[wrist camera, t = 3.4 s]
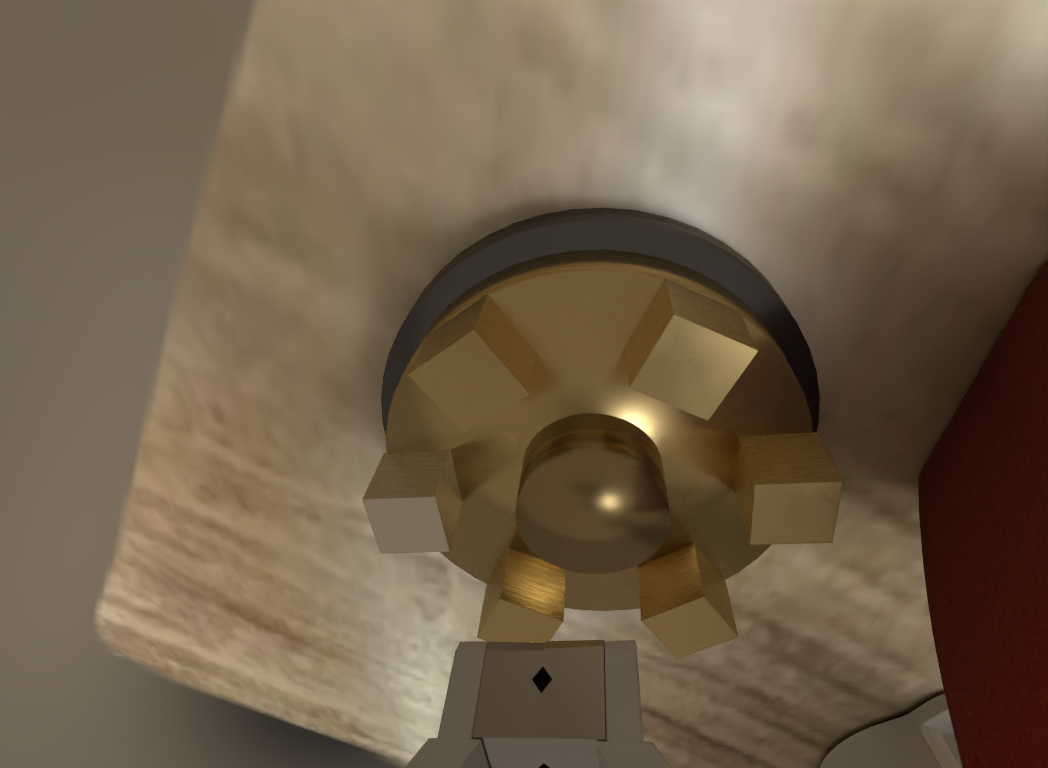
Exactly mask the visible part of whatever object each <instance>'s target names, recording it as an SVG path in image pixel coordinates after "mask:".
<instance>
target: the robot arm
mask: <svg viewBox="0 0 1048 768" xmlns="http://www.w3.org/2000/svg"><path fill="white" fill-rule="evenodd" d="M405 768H670V767H669V765H668V764H667V762H666V761H665V759H664V758H663V756H662V755H661V753H660V752H659V750H658V749H657V747H656V746H655V745H654V743H653V742H643V728H642V715H641V701H640V688H639V674H638V661H637V647H636V642H635V640H631V641H605V642H604V640H586V641H546V642H460V643H459V645H458V647H457V649H456V652H455V656H454V661H453V666H452V671H451V675H450V680H449V685H448V690H447V695H446V700H445V705H444V709H443V714H442V719H441V724H440V729H439V734H438V738H429V739H428V740H427V741H426V743H425V744H424V745H423V746H422V747H421V749H420V750H419V751H418V752H417V753H416V755H415V756H414V757H413V758H412V759H411V761H410V762H409V763H408V764H407V765H406V767H405ZM820 768H963V767H962V763H961V759H960V755H959V751H958V747H957V743H956V739H955V735H954V731H953V727H952V723H951V718H950V714H949V710H948V706H947V701H946V697H945V694H942V695H939V696H937V697H935V698H933V699H931V700H929V701H928V702H926V703H924V704H923V705H921V706H920V707H918V708H917V709H915V710H914V711H912V712H911V713H909V714H907V715H904V716H902V717H899V718H896V719H893V720H890V721H887V722H884V723H881V724H878V725H875V726H872V727H869V728H867V729H865V730H862V731H860V732H858V733H856V734H854V735H852V736H850V737H849V738H847V739H846V740H844V741H842V742H841V743H840V744H838V745H837V746H836V747H835V748H834V749H832V750H831V751H830V752H829V754H828V755H827V756H826V757H825V759H824V760H823V762H822V764H821V766H820Z"/></svg>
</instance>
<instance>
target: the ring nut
mask: <svg viewBox="0 0 1048 768" xmlns="http://www.w3.org/2000/svg"><path fill="white" fill-rule="evenodd" d="M386 446H387V453H384V454H383V456H382V458H381V460H380V463H379V465H378V467H377V469H376V471H375V473H374V475H373V477H372V480H371V482H370V484H369V486H368V488H367V490H366V492H365V495H364V497H363V499H362V500H363V503H364V506H365V509H366V512H367V515H368V518H369V520H370V523H371V526H372V529H373V532H374V535H375V538H376V541H377V543H378V546H379V549H380V552H381V553H411V552H441V553H442V554H443V555H444V556H445V557H447V558H448V559H449V560H450V561H451V562H453V563H454V564H455V565H457V566H458V567H460V568H461V569H463V570H464V571H466V572H467V573H469V574H470V575H472V576H473V577H475V578H477V579H479V580H481V581H483V582H485V583H487V586H486V591H485V596H484V602H483V607H482V613H481V618H480V624H479V629H478V634H477V638H480V639H483V640H486V641H489V642H546V641H549V640H550V639H551V638H552V636H553V635H554V633H555V632H556V631H557V629H558V628H559V627H560V625H561V624H562V622H563V616H564V608H571V609H579V610H601V611H608V610H627V609H635V608H640V609H641V621H642V622H643V623H644V624H645V625H646V626H647V627H648V628H649V629H650V630H651V632H652V633H653V634H654V635H655V636H656V637H657V638H658V639H659V640H660V641H661V642H662V643H663V644H664V645H665V646H666V647H667V648H668V649H669V651H670V652H671V653H672V654H673V655H674V656H675V657H676V658H680V657H683V656H686V655H689V654H692V653H694V652H697V651H700V650H703V649H706V648H709V647H712V646H714V645H717V644H720V643H723V642H726V641H729V640H731V639H734V638H737V637H738V633H737V629H736V624H735V620H734V616H733V611H732V607H731V602H730V598H729V594H728V589H727V585H726V582H725V581H724V580H726V579H728V578H729V577H731V576H733V575H734V574H736V573H738V572H739V571H741V570H742V569H743V568H745V567H746V566H747V565H749V564H750V563H752V562H753V561H754V560H756V559H757V558H758V557H759V556H760V555H761V554H762V553H763V552H764V551H765V550H766V549H767V548H768V547H770V546H771V545H772V544H800V543H833V537H834V531H835V525H836V520H837V514H838V508H839V502H840V496H841V490H842V484H843V481H842V479H841V477H840V475H839V473H838V471H837V470H836V468H835V466H834V464H833V462H832V460H831V458H830V456H829V454H828V452H827V450H826V449H825V447H824V445H823V443H822V441H821V439H820V437H819V435H818V433H817V432H813V427H812V419H811V414H810V411H809V407H808V404H807V401H806V398H805V395H804V392H803V390H802V388H801V386H800V384H799V382H798V380H797V378H796V376H795V374H794V372H793V370H792V368H791V367H790V365H789V363H788V361H787V359H786V357H785V356H784V354H783V352H782V350H781V348H780V346H779V345H778V343H777V341H776V339H775V337H774V336H773V335H772V333H771V332H770V331H769V329H768V328H767V327H766V325H765V324H764V323H763V321H762V320H761V319H760V317H759V316H758V315H756V314H755V313H754V312H753V311H752V310H751V309H750V308H749V307H748V306H747V305H746V304H745V303H744V302H743V301H742V300H741V299H740V298H739V297H737V296H736V295H734V294H733V293H732V292H730V291H729V290H728V289H726V288H725V287H723V286H722V285H721V284H719V283H718V282H716V281H714V280H712V279H710V278H708V277H706V276H705V275H703V274H701V273H699V272H697V271H695V270H693V269H691V268H688V267H685V266H683V265H680V264H677V263H674V262H672V261H669V260H666V259H663V258H658V257H654V256H649V255H645V254H640V253H636V252H626V251H615V250H575V251H568V252H562V253H556V254H550V255H544V256H541V257H537V258H534V259H530V260H527V261H524V262H520V263H517V264H515V265H512V266H510V267H508V268H506V269H503V270H501V271H499V272H497V273H494V274H492V275H490V276H488V277H487V278H485V279H484V280H482V281H480V282H479V283H477V284H475V285H474V286H472V287H471V288H469V289H467V290H466V291H465V292H464V293H463V294H461V295H460V296H459V297H458V298H457V299H455V300H454V301H453V302H452V303H451V304H449V305H448V306H447V307H446V308H445V309H444V311H443V312H442V313H441V314H440V315H439V316H438V317H437V318H436V319H435V321H434V322H433V323H432V324H431V325H430V327H429V328H428V330H427V331H426V333H425V334H424V336H423V338H422V339H421V341H420V342H419V344H418V346H417V347H416V349H415V351H414V353H413V355H412V357H411V359H410V361H409V363H408V365H407V367H406V369H405V371H404V373H403V375H402V377H401V379H400V382H399V384H398V386H397V388H396V390H395V393H394V395H393V399H392V403H391V407H390V410H389V414H388V421H387V432H386Z"/></svg>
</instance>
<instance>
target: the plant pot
mask: <svg viewBox="0 0 1048 768" xmlns="http://www.w3.org/2000/svg"><path fill="white" fill-rule="evenodd" d="M919 517H920V530H921V542H922V553H923V565H924V573H925V581H926V589H927V598H928V604H929V611H930V618H931V624H932V631H933V636H934V642H935V647H936V653H937V658H938V663H939V668H940V673H941V678H942V683H943V688H944V692H945V697H946V701H947V706H948V710H949V714H950V718H951V723H952V727H953V731H954V735H955V739H956V743H957V747H958V751H959V755H960V759H961V763H962V767H963V768H1048V261H1047V262H1046V263H1045V264H1044V265H1043V266H1042V267H1041V269H1040V270H1039V271H1038V273H1037V275H1036V276H1035V278H1034V280H1033V281H1032V283H1031V285H1030V286H1029V288H1028V289H1027V291H1026V293H1025V295H1024V296H1023V298H1022V300H1021V301H1020V303H1019V305H1018V306H1017V308H1016V310H1015V312H1014V314H1013V316H1012V317H1011V319H1010V320H1009V322H1008V324H1007V325H1006V327H1005V329H1004V330H1003V332H1002V334H1001V336H1000V337H999V339H998V341H997V343H996V345H995V346H994V348H993V350H992V351H991V353H990V355H989V356H988V358H987V360H986V361H985V363H984V365H983V367H982V368H981V370H980V372H979V373H978V375H977V377H976V378H975V380H974V382H973V384H972V385H971V387H970V389H969V390H968V392H967V394H966V396H965V397H964V399H963V401H962V402H961V404H960V406H959V408H958V409H957V411H956V413H955V415H954V416H953V418H952V420H951V422H950V423H949V425H948V426H947V428H946V430H945V431H944V433H943V435H942V436H941V438H940V440H939V442H938V443H937V445H936V447H935V449H934V450H933V452H932V454H931V455H930V457H929V459H928V460H927V462H926V464H925V465H924V467H923V469H922V470H921V473H920V476H919Z"/></svg>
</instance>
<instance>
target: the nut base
mask: <svg viewBox="0 0 1048 768" xmlns="http://www.w3.org/2000/svg"><path fill="white" fill-rule="evenodd" d="M575 250H615V251H626V252H636V253H640V254H645V255H649V256H654V257H658V258H663V259H666V260H669V261H672V262H674V263H677V264H680V265H683V266H685V267H688V268H691V269H693V270H695V271H697V272H699V273H701V274H703V275H705V276H706V277H708V278H710V279H712V280H714V281H716V282H718V283H719V284H721V285H722V286H723V287H725V288H726V289H728V290H729V291H730V292H732V293H733V294H734V295H736V296H737V297H739V298H740V299H741V300H742V301H743V302H744V303H745V304H746V305H747V306H748V307H749V308H750V309H751V310H752V311H753V312H754V313H755V314H756V315H758V316H759V317H760V319H761V320H762V321H763V323H764V324H765V325H766V327H767V328H768V329H769V331H770V332H771V333H772V335H773V336H774V337H775V339H776V341H777V343H778V345H779V346H780V348H781V350H782V352H783V354H784V356H785V357H786V359H787V361H788V363H789V365H790V367H791V368H792V370H793V372H794V374H795V376H796V378H797V380H798V382H799V384H800V386H801V388H802V390H803V392H804V395H805V398H806V401H807V404H808V407H809V411H810V414H811V419H812V427H813V432H817V427H818V422H819V402H820V396H819V388H818V380H817V372H816V369H815V366H814V362H813V359H812V356H811V352H810V349H809V346H808V344H807V342H806V340H805V338H804V336H803V334H802V332H801V330H800V328H799V326H798V324H797V322H796V321H795V319H794V318H793V316H792V315H791V313H790V312H789V310H788V308H787V307H786V305H785V304H784V302H783V301H782V299H781V298H780V297H779V295H778V294H777V292H776V291H775V290H774V288H773V287H772V285H771V284H770V283H769V281H768V280H767V279H766V278H765V277H764V276H763V275H762V274H761V273H760V272H759V271H758V270H757V269H756V268H755V267H754V266H753V265H752V264H751V263H750V262H749V261H748V260H746V259H745V258H744V257H742V256H741V255H740V254H738V253H737V252H736V251H734V250H733V249H732V248H730V247H729V246H728V245H726V244H725V243H723V242H721V241H720V240H718V239H716V238H714V237H712V236H710V235H709V234H707V233H705V232H703V231H701V230H699V229H697V228H694V227H692V226H689V225H686V224H684V223H681V222H678V221H676V220H673V219H670V218H667V217H663V216H658V215H654V214H649V213H645V212H641V211H634V210H623V209H612V208H593V209H572V210H567V211H561V212H555V213H549V214H543V215H540V216H537V217H533V218H530V219H527V220H524V221H520V222H517V223H514V224H512V225H509V226H507V227H505V228H503V229H501V230H499V231H497V232H494V233H492V234H490V235H488V236H486V237H484V238H483V239H481V240H480V241H478V242H477V243H475V244H473V245H472V246H470V247H469V248H467V249H466V250H464V251H463V252H461V253H460V254H459V255H458V256H457V257H456V258H454V259H453V260H452V261H451V262H450V263H449V264H447V265H446V266H445V267H444V268H443V269H442V270H441V271H440V272H439V273H438V274H437V275H436V276H435V278H434V279H433V280H432V281H431V282H430V283H429V285H428V286H427V287H426V288H425V289H424V291H423V292H422V294H421V295H420V297H419V299H418V300H417V302H416V303H415V305H414V307H413V308H412V310H411V311H410V313H409V315H408V316H407V318H406V320H405V321H404V323H403V325H402V326H401V328H400V330H399V332H398V334H397V336H396V339H395V341H394V343H393V346H392V348H391V350H390V353H389V356H388V360H387V364H386V368H385V372H384V376H383V386H382V398H381V403H382V417H383V426H384V430H385V434H386V432H387V421H388V414H389V410H390V407H391V403H392V399H393V395H394V393H395V390H396V388H397V386H398V384H399V382H400V379H401V377H402V375H403V373H404V371H405V369H406V367H407V365H408V363H409V361H410V359H411V357H412V355H413V353H414V351H415V349H416V347H417V346H418V344H419V342H420V341H421V339H422V338H423V336H424V334H425V333H426V331H427V330H428V328H429V327H430V325H431V324H432V323H433V322H434V321H435V319H436V318H437V317H438V316H439V315H440V314H441V313H442V312H443V311H444V309H445V308H446V307H447V306H448V305H449V304H451V303H452V302H453V301H454V300H455V299H457V298H458V297H459V296H460V295H461V294H463V293H464V292H465V291H466V290H467V289H469V288H471V287H472V286H474V285H475V284H477V283H479V282H480V281H482V280H484V279H485V278H487V277H488V276H490V275H492V274H494V273H497V272H499V271H501V270H503V269H506V268H508V267H510V266H512V265H515V264H517V263H520V262H524V261H527V260H530V259H534V258H537V257H541V256H544V255H550V254H556V253H562V252H568V251H575Z"/></svg>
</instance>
